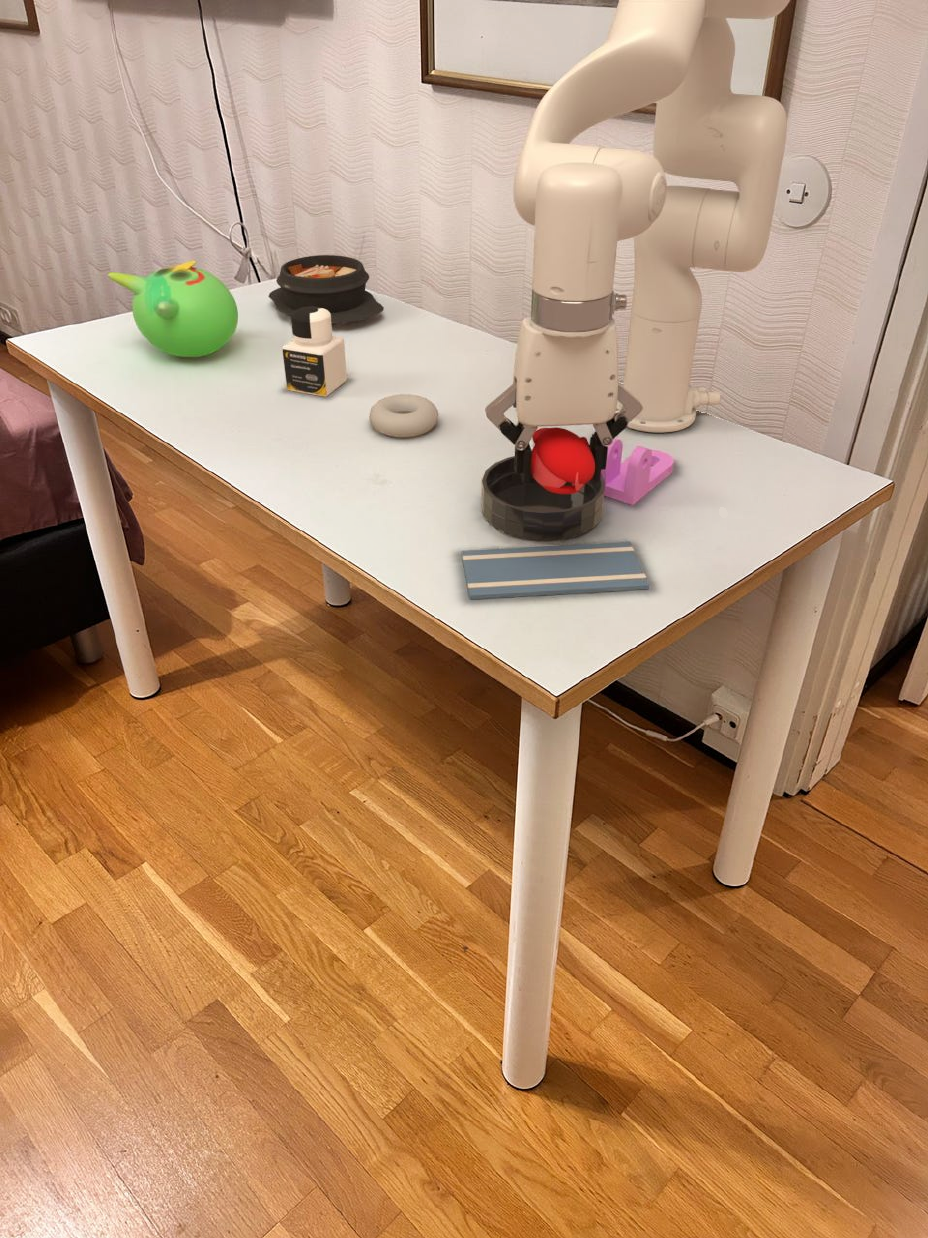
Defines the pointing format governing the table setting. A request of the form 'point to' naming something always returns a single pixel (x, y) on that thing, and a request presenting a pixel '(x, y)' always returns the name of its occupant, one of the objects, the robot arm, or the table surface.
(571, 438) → the red rounded lobed piece
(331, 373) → the medicine bottle
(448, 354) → the table surface
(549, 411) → the robot arm
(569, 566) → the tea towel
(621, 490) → the bracket
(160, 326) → the toy bird
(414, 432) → the donut
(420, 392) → the table surface
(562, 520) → the bowl
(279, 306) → the casserole
